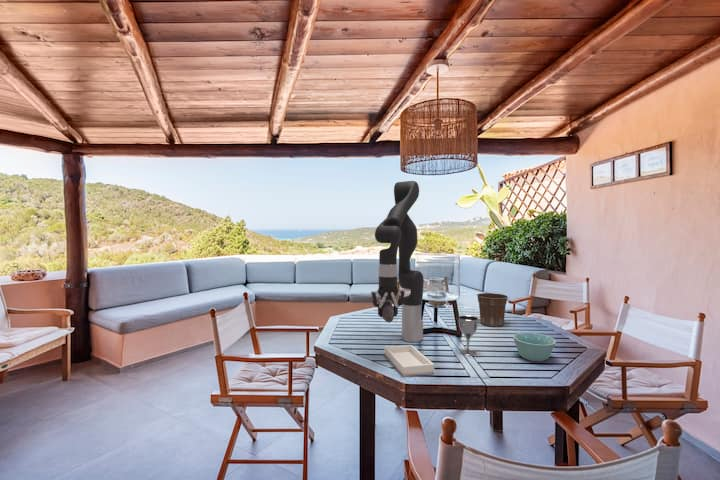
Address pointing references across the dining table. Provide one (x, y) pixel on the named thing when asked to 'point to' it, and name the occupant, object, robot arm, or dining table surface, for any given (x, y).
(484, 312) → the plant pot
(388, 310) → the perforated stone tool
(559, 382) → the dining table surface
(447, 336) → the dining table surface
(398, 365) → the tray
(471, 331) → the wine glass
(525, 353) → the bowl
